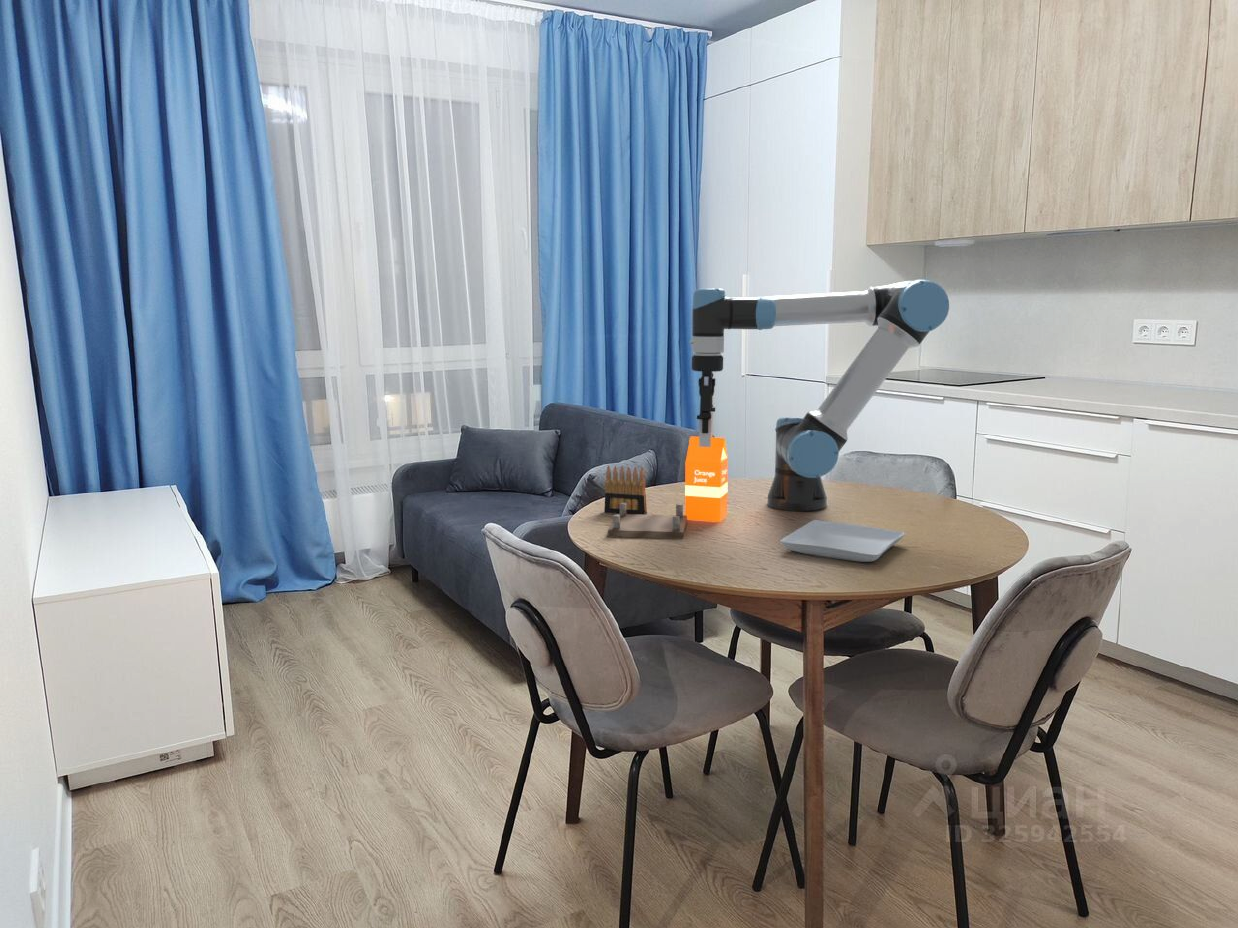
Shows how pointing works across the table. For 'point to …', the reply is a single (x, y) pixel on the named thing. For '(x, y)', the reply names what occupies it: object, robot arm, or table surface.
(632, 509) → the ammunition clip
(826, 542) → the salad plate
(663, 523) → the peg stand
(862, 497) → the table surface
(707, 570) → the table surface
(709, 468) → the orange juice
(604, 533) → the table surface
